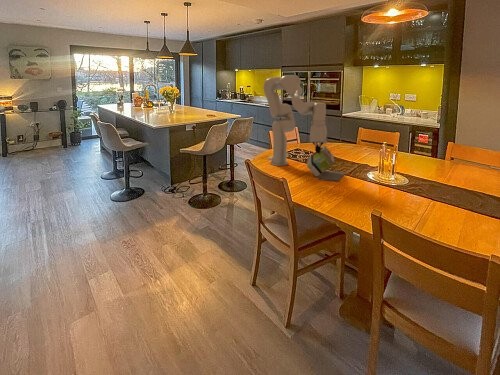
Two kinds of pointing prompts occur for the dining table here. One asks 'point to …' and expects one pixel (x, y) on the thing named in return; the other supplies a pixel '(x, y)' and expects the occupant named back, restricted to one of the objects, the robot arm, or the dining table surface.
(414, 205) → the dining table surface
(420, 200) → the dining table surface
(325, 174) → the display board
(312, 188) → the dining table surface
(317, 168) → the tea box
